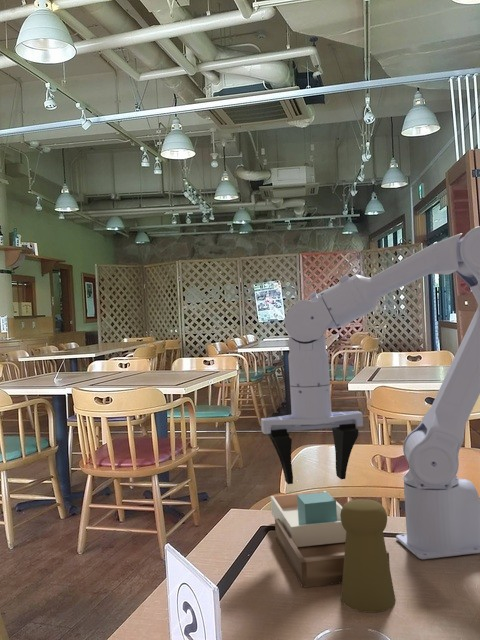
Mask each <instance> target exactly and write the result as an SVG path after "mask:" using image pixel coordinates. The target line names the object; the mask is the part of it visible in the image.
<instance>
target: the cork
mask: <svg viewBox="0 0 480 640" xmlns="http://www.w3.org/2000/svg"><path fill="white" fill-rule="evenodd" d="M342 507H343V508H342V509H341V514H340V517H341V522H342V526H343V528H344V529H345V530H346V541H345V554H344V567H343V581H342V583H341V594H340V598H341V602H342V603H343V604H344V605H345V607H348V608H349V609H352V610H356V611H358V612H362V613H363V612H364V613H365V612H366V613H379V612H384V611H386V610H387V611H388V610H390V609H392V608H393V607H394V606H395V604H396V600H397V599H396V595H395V594H396V593H395V591H394V590H395V589H394V584H393V579H392V574H391V566H390V567H389V564H390V561H389V562H388V557H387V552H388V551H387V547H386V542H385V537H384V531H385V529H386V528H387V523H388V514H387V511H386V509H385V507H384V506H383V504H382V503H381V502H378V501H376V500H373V499H368V498H367V499H366V498H358V499H351V500H349V501H347V502H345V503H344V504H343V506H342Z"/></svg>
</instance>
